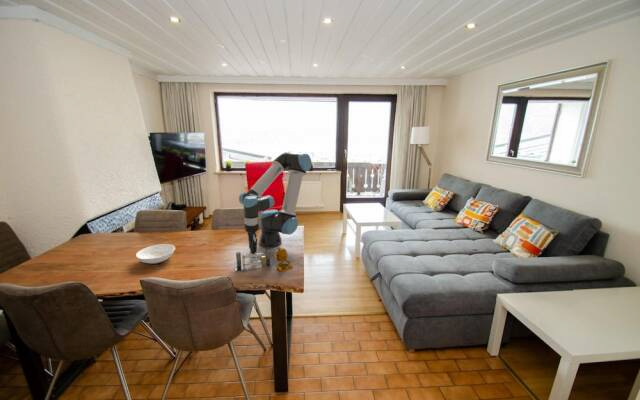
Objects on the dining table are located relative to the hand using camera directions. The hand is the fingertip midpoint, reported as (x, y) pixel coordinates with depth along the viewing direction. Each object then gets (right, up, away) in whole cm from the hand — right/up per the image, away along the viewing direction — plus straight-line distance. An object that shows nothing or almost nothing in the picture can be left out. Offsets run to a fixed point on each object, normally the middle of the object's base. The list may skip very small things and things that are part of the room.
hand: (253, 261), depth 154 cm
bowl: (-58, 0, +3) cm, 58 cm away
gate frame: (+1, -3, -4) cm, 5 cm away
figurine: (+18, -3, -3) cm, 18 cm away
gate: (+1, -2, -3) cm, 4 cm away
